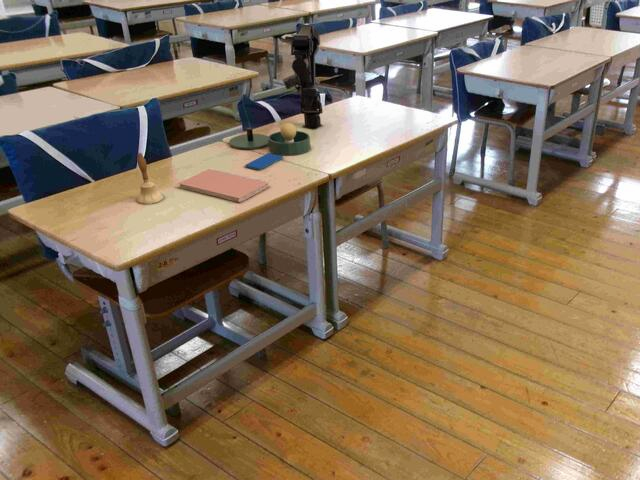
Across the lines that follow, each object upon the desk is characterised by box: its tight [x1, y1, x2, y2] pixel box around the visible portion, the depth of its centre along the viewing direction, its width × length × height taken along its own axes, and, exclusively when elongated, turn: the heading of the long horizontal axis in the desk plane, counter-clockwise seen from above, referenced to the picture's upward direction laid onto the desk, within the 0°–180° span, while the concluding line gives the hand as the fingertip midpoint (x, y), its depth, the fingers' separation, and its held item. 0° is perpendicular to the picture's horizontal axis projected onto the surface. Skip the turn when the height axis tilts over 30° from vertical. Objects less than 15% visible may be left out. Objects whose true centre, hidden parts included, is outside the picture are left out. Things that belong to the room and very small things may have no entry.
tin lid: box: [228, 127, 269, 150], centre depth 261 cm, size 17×17×6 cm
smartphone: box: [245, 152, 284, 171], centre depth 243 cm, size 7×1×15 cm
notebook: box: [178, 168, 270, 203], centre depth 222 cm, size 27×17×2 cm, turn 63°
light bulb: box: [279, 122, 297, 143], centre depth 255 cm, size 6×6×10 cm
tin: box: [267, 130, 311, 157], centre depth 256 cm, size 16×16×5 cm
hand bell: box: [136, 152, 164, 205], centre depth 209 cm, size 8×8×16 cm
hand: (305, 107), depth 262 cm, fingers open, 9 cm apart
